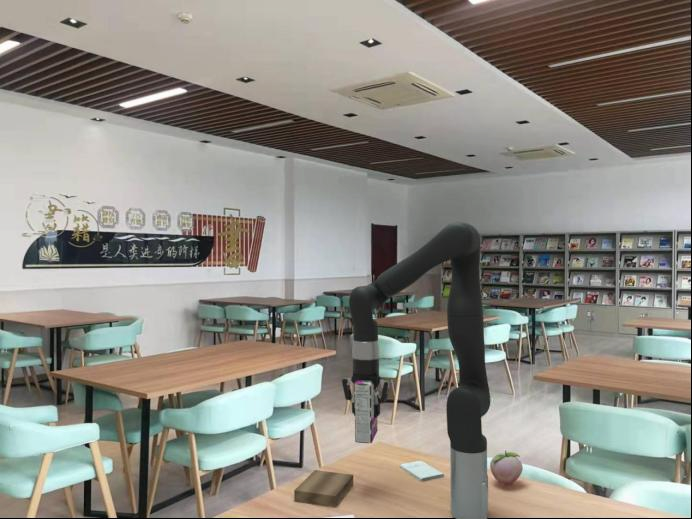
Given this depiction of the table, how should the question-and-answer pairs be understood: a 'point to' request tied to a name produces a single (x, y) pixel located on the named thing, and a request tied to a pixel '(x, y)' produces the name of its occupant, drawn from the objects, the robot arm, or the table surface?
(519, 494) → the table surface
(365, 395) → the candy bar box
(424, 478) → the external hard drive
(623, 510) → the table surface
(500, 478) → the decorative fruit
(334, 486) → the block
